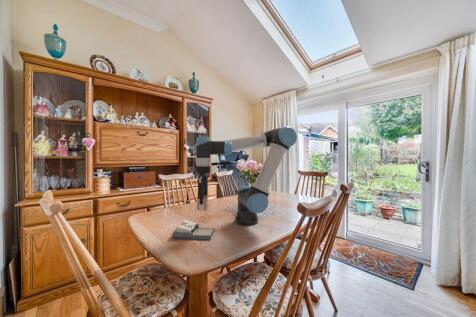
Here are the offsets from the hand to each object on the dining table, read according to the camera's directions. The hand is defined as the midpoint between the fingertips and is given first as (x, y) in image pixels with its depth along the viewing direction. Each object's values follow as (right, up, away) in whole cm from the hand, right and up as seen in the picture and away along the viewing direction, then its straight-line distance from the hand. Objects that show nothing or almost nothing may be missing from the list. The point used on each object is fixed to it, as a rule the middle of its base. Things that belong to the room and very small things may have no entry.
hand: (203, 208), depth 108 cm
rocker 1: (-10, -12, -3) cm, 15 cm away
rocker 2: (-9, -12, +5) cm, 15 cm away
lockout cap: (0, 0, 0) cm, 0 cm away
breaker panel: (-5, -14, +1) cm, 15 cm away
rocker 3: (-9, -12, +1) cm, 15 cm away
